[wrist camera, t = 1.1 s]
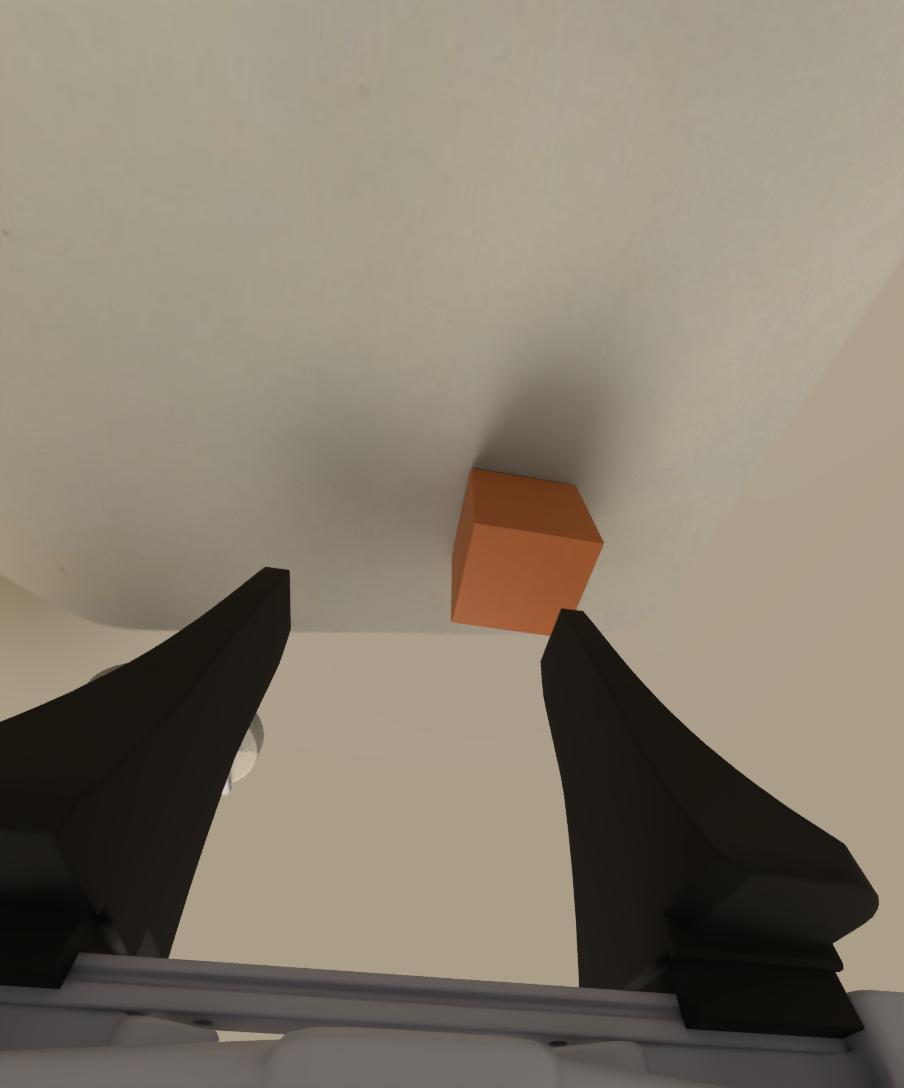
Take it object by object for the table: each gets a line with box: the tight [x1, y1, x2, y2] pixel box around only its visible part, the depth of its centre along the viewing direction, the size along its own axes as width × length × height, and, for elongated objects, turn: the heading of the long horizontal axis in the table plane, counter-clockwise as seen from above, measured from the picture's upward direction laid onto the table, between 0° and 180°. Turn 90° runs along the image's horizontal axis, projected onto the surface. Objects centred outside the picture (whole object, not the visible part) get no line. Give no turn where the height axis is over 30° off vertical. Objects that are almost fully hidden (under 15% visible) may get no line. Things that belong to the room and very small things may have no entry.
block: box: [451, 468, 604, 636], centre depth 19 cm, size 4×4×4 cm
